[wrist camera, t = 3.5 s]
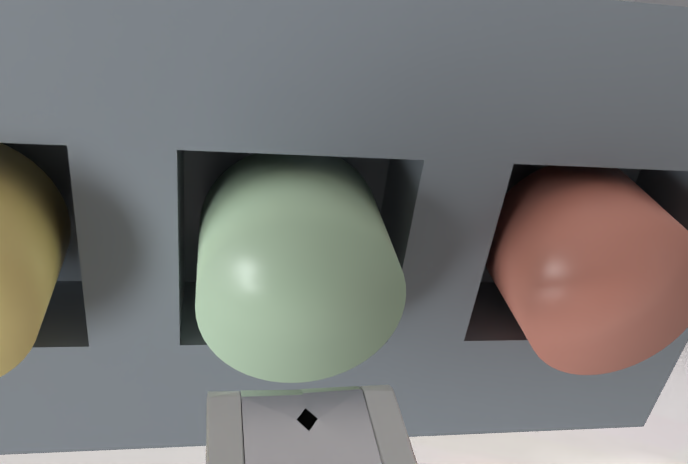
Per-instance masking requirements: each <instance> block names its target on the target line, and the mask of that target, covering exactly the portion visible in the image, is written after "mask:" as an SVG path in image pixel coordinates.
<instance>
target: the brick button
mask: <svg viewBox="0 0 688 464" xmlns="http://www.w3.org/2000/svg"><path fill="white" fill-rule="evenodd" d="M485 266H486V268H487V270H488V272H489V274H490V275H491V277H492V279H493V281H494V282H495V284H496V286H497V287H498V289H499V291H500V293H501V294H502V296H503V298H504V300H505V301H506V303H507V305H508V307H509V308H510V310H511V312H512V313H513V315H514V317H515V319H516V320H517V322H518V324H519V326H520V327H521V329H522V331H523V333H524V334H525V336H526V338H527V339H528V341H529V343H530V345H531V346H532V348H533V350H534V351H535V353H536V354H537V355H538V357H539V358H540V359H541V360H542V361H544V362H545V363H546V364H548V365H549V366H551V367H552V368H555V369H557V370H559V371H562V372H566V373H570V374H577V375H598V374H605V373H611V372H615V371H618V370H622V369H625V368H628V367H630V366H633V365H635V364H638V363H640V362H642V361H644V360H646V359H648V358H650V357H651V356H653V355H655V354H656V353H658V352H659V351H661V350H662V349H664V348H665V347H667V346H668V345H669V344H670V343H672V342H673V341H674V340H675V339H676V338H677V337H679V336H680V335H681V334H682V333H683V332H684V331H685V330H686V328H687V327H688V230H687V229H686V228H684V227H683V226H682V225H681V224H680V223H679V222H678V221H677V220H676V219H674V218H673V217H672V216H671V215H670V214H669V213H668V212H667V211H666V210H665V209H663V208H662V207H661V206H660V205H659V204H658V203H657V202H656V201H655V200H653V199H652V198H651V197H650V196H649V195H648V194H647V193H646V192H645V191H644V190H642V189H641V188H640V187H639V186H638V185H637V184H636V183H635V182H634V181H632V180H631V179H630V178H629V177H628V176H627V175H626V174H625V173H624V172H622V171H621V170H620V169H618V168H602V167H578V166H553V165H548V166H545V167H543V168H541V169H539V170H537V171H535V172H533V173H531V174H530V175H528V176H527V177H525V178H523V179H522V180H521V181H520V182H518V183H517V184H516V185H515V186H513V187H512V188H511V189H510V190H509V191H508V192H507V193H506V194H505V197H504V201H503V204H502V208H501V211H500V215H499V218H498V222H497V225H496V229H495V233H494V236H493V240H492V243H491V247H490V250H489V254H488V257H487V261H486V264H485Z"/></svg>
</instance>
